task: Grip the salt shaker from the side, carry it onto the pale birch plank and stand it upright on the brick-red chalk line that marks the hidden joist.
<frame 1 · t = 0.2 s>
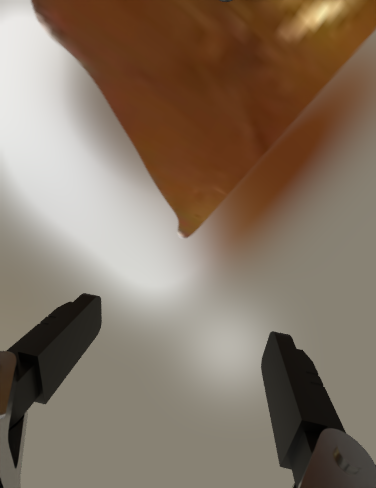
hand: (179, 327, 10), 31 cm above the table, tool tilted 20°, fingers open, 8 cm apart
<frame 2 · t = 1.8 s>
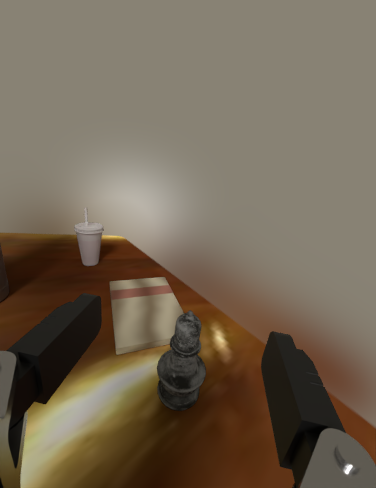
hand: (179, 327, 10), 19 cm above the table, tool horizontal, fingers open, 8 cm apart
plank: (146, 309, 41), on the table
smoothie: (90, 263, 55), on the table
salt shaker: (178, 389, 27), on the table
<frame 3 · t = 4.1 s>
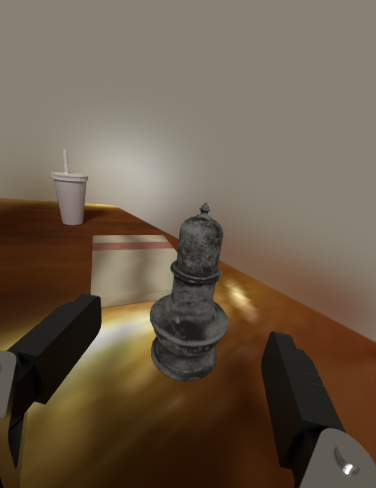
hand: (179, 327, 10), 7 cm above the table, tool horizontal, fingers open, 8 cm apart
plank: (138, 263, 31), on the table
smoothie: (73, 223, 45), on the table
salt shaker: (183, 352, 18), on the table
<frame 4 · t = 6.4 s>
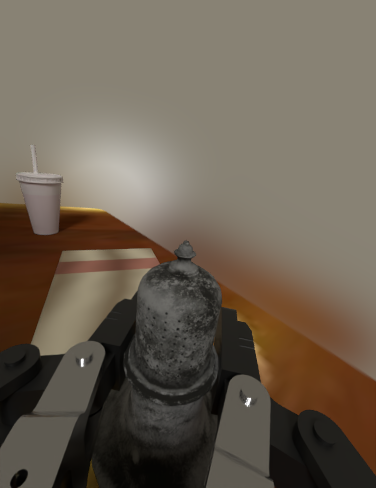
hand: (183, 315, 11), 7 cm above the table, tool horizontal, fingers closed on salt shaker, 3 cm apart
plank: (114, 290, 24), on the table
smoothie: (46, 232, 38), on the table
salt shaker: (157, 468, 11), on the table, touching gripper
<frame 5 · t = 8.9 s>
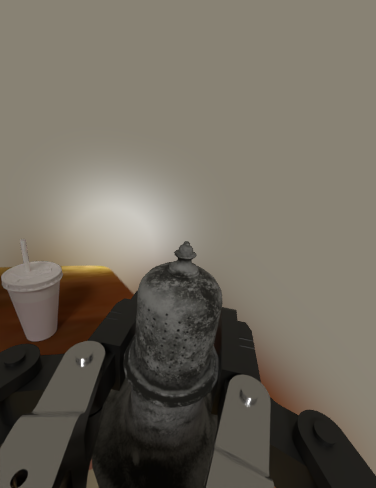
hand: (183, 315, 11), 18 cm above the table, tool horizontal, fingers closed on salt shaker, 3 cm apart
smoothie: (42, 332, 31), on the table
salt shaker: (157, 469, 11), point 10 cm above the table, touching gripper
when the fingers open (9 cm above the table, at t = 11.4 s): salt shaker drops 1 cm, resting on plank.
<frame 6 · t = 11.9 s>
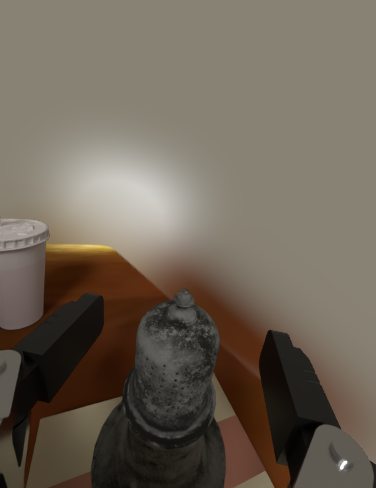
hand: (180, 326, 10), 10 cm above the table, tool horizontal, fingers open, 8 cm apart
smoothie: (22, 318, 22), on the table
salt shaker: (155, 487, 11), point 1 cm above the table, touching plank
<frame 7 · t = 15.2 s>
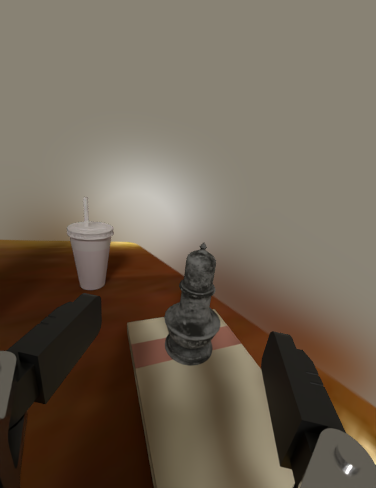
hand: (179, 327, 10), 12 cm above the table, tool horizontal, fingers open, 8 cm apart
plank: (202, 384, 21), on the table
smoothie: (93, 284, 35), on the table
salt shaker: (188, 346, 24), point 1 cm above the table, touching plank
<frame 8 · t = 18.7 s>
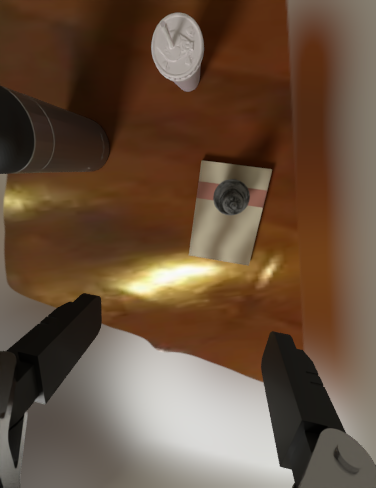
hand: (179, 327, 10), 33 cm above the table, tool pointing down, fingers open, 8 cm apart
plank: (226, 214, 41), on the table
smoothie: (188, 78, 35), on the table
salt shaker: (230, 195, 39), point 1 cm above the table, touching plank
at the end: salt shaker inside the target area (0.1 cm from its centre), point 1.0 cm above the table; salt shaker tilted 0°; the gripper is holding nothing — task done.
